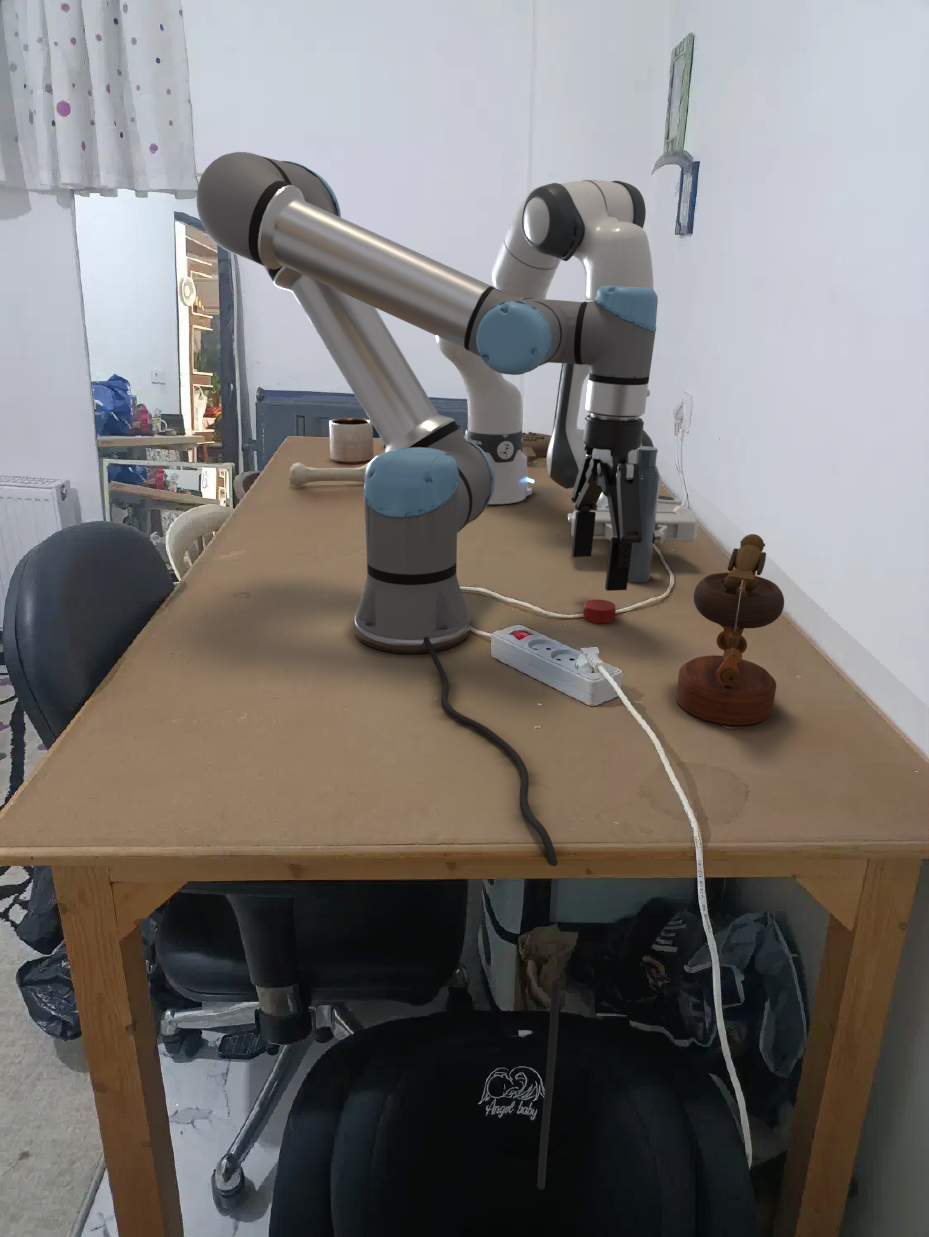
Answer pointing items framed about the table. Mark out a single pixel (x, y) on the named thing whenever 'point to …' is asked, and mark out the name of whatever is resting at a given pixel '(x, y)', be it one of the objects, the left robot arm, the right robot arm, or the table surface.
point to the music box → (733, 642)
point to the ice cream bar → (535, 445)
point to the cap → (599, 611)
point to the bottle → (645, 514)
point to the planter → (351, 440)
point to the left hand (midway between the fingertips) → (597, 572)
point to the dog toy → (324, 474)
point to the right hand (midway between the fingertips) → (639, 538)
